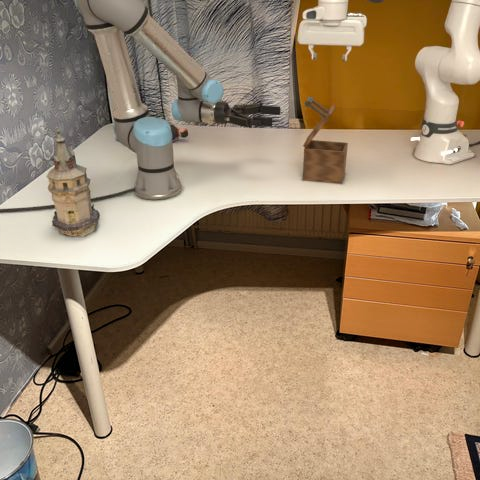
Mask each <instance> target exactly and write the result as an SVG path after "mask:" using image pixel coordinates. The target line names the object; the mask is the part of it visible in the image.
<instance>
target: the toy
mask: <svg viewBox="0 0 480 480" xmlns="http://www.w3.org/2000/svg"><path fill="white" fill-rule="evenodd" d="M169 124H170V123H169ZM170 126H171V132H172V142H175V141H177V140H178V138H179V137H180V138H183V139H185V138H187V137H188V136H189V131H188V129H187V128H186V127H179V128H178V127H177V126H176V125H174V124H170ZM115 140H116V141H118V139H117V138H116V137H115ZM118 142H119V141H118Z"/></svg>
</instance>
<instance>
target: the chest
mask: <svg viewBox="0 0 480 480" xmlns="http://www.w3.org/2000/svg"><path fill="white" fill-rule="evenodd" d="M348 145H349V143H348V142H343V141H329V140H318V139H317V140H315V139H312V140H311V142H310V143H309V144H308V146H307V147H306V148H305V147H303V163H302V164H303V165H302V181H306V182H307V181H308V182H317V183H318V182H319V183H327V184H328V183H329V184H339V185H342V184H343V182H344V180H345V179H344V178H345V176H346V168H347V156H348Z"/></svg>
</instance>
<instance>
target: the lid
mask: <svg viewBox="0 0 480 480" xmlns="http://www.w3.org/2000/svg"><path fill="white" fill-rule="evenodd" d="M304 106H305V107H306V108H308V107H309V108H311V109H312V110H313V111H315V112H317V113H318V114H319V115H321V117H322V118H321V119H320V120H319V122H318V123H317V124H316V126H315V127H313V130H312V131H311V132H310V133H309V135H308V136H307V137H306V140H305V141H304V144H303V145H302V147H303V148H306V147H307V146H308V144H309V143H310V142H311V140H314V138H315V137H316V135H317V134H318V133H319V132H320V130H321V129H322V128H323V127H324V125H325V124H326V123H327V121H328V120H329V118H331V116H332V115H333V113H334V110H335V108H336V106H335V105H334V104H332V105H331V106H330V107H329V108H328V110H327V109H326V108H325V107H323V106H322V105H320V104H319V103H318V102H317V101H316V100H315V99H314V97H313V96H312V95H311V96H308V97H307V99H306V100H305V102H304ZM315 106H317V107H315Z"/></svg>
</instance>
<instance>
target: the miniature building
mask: <svg viewBox="0 0 480 480" xmlns="http://www.w3.org/2000/svg"><path fill="white" fill-rule="evenodd" d="M56 134H57V136H56V138H55V140H54V141H55V142H56V147H55V154H54V156H52V157H51V161H52V162H53V165H54V167H53V168H51V169H50V170H49V171H48V173H47V174H46V178H47V179H48V182H49V184H48V186H47V190H48V191H49V193H50V194H51V200H52V201H53V205H55V208H54V209H55V211H53V217H52V220H51V223H52V225H51V227H54V228H56V229H58V230H59V231H60V234H63V235H64V234H65V235H66V236H69V237H77V236H80V237H83V236H87V235H88V234H90V233H93V232H94V231H95V229H96V226H97V225H98V223H99V220H100V216H101V213H100V212H99V210H98V209H96V208H95V204H92V202H91V198H92V197H91V192H92V191H91V188H90V184H91V178H89V177H88V174H87V167H85V166H84V165H83V166H82V165H80V164H77V160H76V154H75V151H74V150H70V149H69V147H68V145H67V143H66V138H65V137H64V136H63V135H61V130H60V129H56Z"/></svg>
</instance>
